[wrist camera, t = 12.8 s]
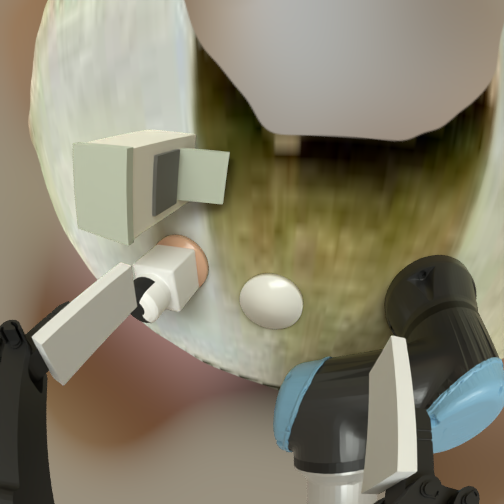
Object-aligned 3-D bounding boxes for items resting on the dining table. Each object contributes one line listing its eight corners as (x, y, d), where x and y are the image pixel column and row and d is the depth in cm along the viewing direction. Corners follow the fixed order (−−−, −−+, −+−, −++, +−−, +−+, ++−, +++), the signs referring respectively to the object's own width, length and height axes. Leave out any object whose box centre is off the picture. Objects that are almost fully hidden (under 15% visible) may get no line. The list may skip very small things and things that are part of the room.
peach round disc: (211, 243, 44) (207, 247, 43) (206, 294, 49) (203, 298, 48) (156, 228, 45) (152, 230, 44) (157, 277, 50) (153, 281, 49)
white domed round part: (310, 283, 42) (309, 288, 41) (294, 331, 47) (293, 335, 46) (246, 265, 44) (244, 269, 43) (238, 314, 49) (236, 318, 48)
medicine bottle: (163, 280, 49) (123, 322, 38) (157, 243, 45) (111, 281, 35) (199, 287, 47) (163, 334, 36) (195, 248, 43) (153, 291, 33)
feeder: (236, 139, 35) (178, 155, 23) (226, 211, 41) (173, 260, 28) (148, 128, 38) (72, 143, 25) (145, 192, 43) (78, 228, 30)
